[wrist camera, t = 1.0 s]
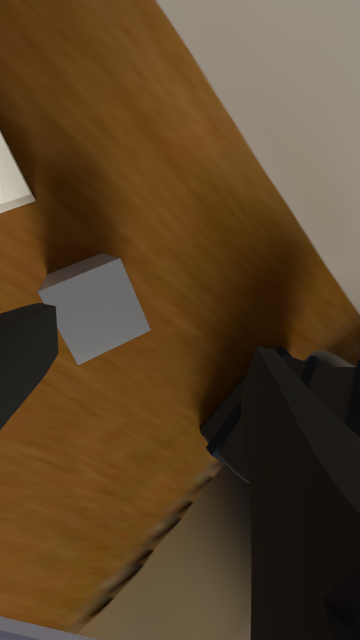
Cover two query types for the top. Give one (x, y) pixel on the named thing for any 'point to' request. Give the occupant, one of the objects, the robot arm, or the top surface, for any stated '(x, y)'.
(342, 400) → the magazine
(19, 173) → the socket
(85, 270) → the plug
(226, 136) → the top surface
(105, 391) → the top surface
